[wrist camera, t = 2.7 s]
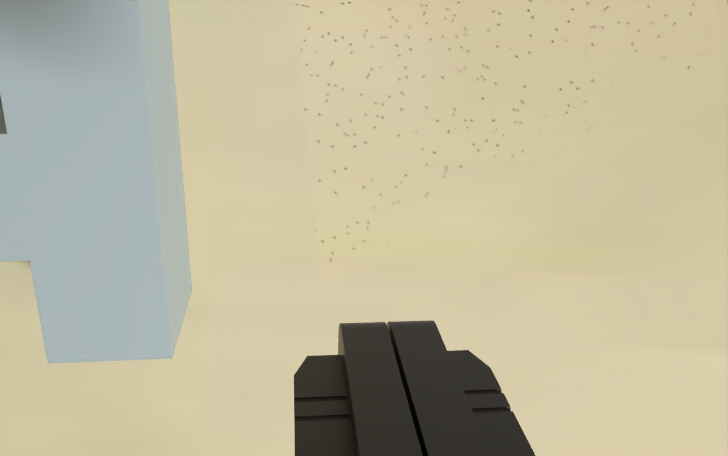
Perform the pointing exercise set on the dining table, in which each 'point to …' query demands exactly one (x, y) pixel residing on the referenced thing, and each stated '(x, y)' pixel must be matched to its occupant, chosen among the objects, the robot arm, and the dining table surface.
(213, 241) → the dining table surface
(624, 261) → the dining table surface
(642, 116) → the dining table surface
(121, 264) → the block
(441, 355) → the robot arm
